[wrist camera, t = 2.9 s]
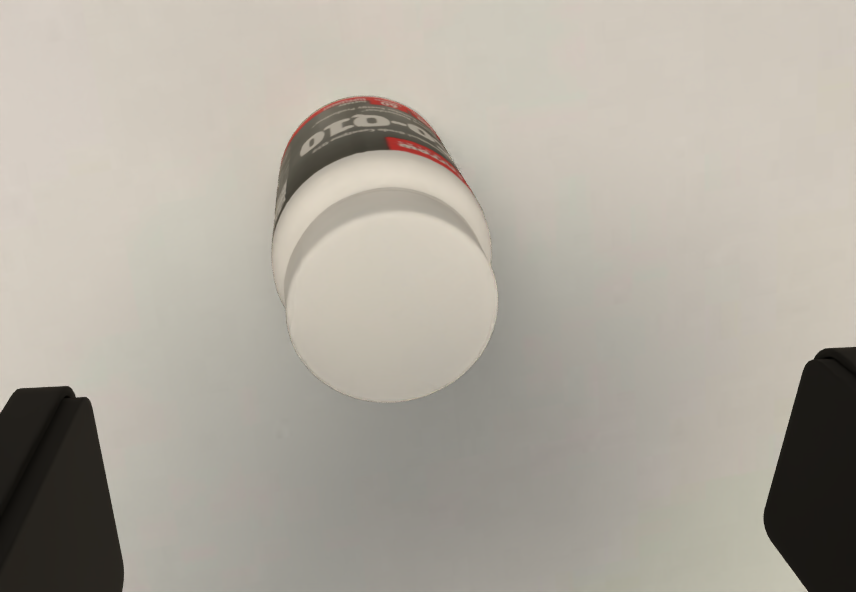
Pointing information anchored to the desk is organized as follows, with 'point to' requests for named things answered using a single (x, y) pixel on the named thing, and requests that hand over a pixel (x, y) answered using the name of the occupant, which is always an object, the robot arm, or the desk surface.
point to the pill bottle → (380, 253)
